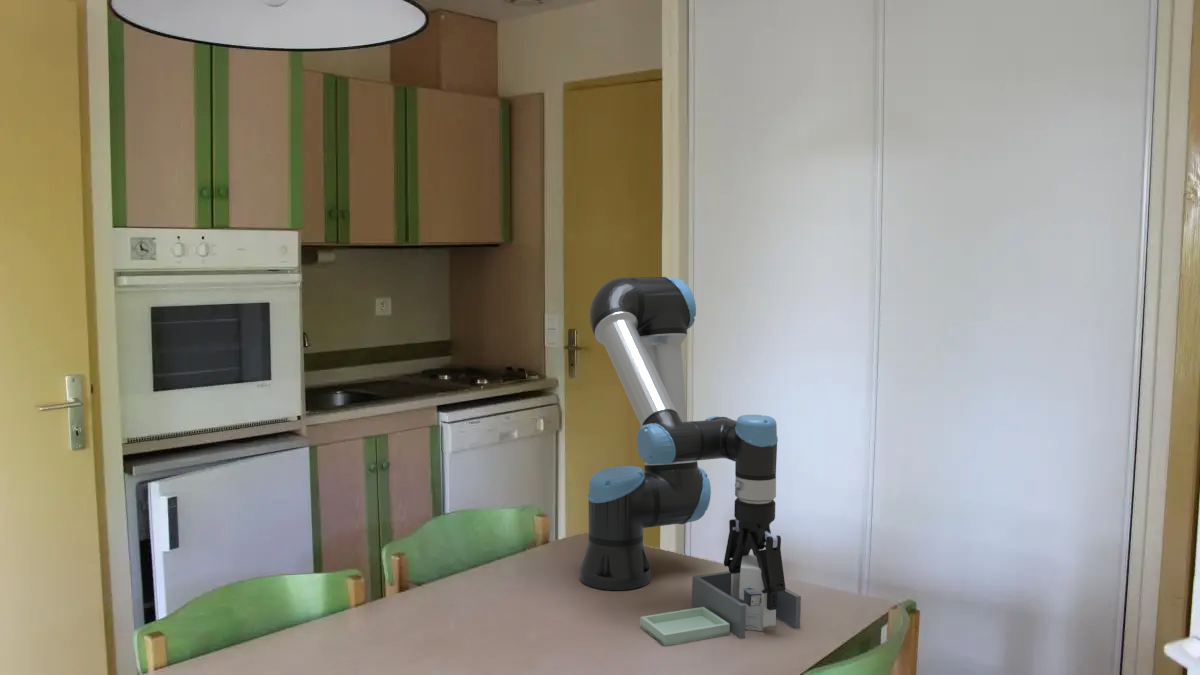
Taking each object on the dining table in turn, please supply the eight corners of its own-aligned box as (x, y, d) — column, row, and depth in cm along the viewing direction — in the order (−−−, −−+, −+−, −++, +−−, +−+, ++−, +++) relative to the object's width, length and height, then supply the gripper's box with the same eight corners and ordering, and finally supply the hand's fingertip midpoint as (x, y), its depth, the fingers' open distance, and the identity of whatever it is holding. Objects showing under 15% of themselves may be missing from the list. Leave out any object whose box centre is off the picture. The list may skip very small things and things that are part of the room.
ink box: (740, 612, 184) (741, 553, 183) (766, 614, 183) (768, 554, 182) (737, 629, 176) (738, 567, 175) (765, 631, 175) (766, 569, 174)
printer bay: (691, 606, 187) (692, 576, 187) (748, 597, 192) (748, 568, 192) (740, 638, 171) (740, 606, 171) (800, 627, 176) (800, 596, 176)
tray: (640, 627, 176) (640, 616, 176) (703, 616, 181) (703, 606, 181) (664, 646, 167) (664, 635, 167) (729, 634, 173) (729, 623, 173)
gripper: (706, 487, 186) (704, 599, 188) (772, 515, 166) (769, 640, 167) (739, 484, 189) (737, 593, 191) (808, 511, 169) (804, 633, 170)
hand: (752, 615), depth 179 cm, fingers open, 10 cm apart
